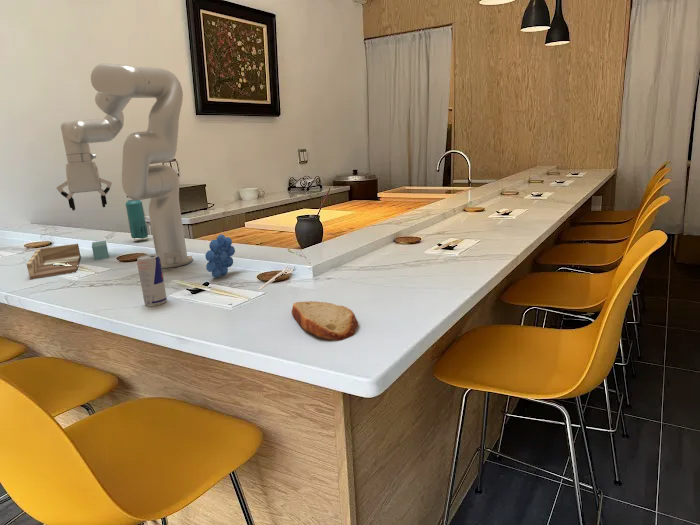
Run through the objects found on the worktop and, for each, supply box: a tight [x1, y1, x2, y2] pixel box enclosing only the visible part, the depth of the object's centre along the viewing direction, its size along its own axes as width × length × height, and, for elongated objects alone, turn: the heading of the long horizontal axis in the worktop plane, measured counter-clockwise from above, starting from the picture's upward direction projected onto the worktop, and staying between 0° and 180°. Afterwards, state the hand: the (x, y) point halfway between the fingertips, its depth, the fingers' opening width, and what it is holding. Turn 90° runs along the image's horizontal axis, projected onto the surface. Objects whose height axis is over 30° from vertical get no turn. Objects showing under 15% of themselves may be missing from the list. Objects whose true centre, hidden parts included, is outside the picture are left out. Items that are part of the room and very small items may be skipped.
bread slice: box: [291, 300, 359, 342], centre depth 110 cm, size 18×18×4 cm
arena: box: [26, 243, 82, 280], centre depth 174 cm, size 24×13×5 cm, turn 24°
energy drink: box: [136, 253, 168, 306], centre depth 129 cm, size 5×5×12 cm
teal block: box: [91, 240, 110, 261], centre depth 185 cm, size 9×4×5 cm, turn 25°
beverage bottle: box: [124, 195, 149, 239], centre depth 206 cm, size 6×7×20 cm
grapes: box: [205, 234, 236, 279], centre depth 149 cm, size 12×7×12 cm, turn 152°
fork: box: [257, 266, 294, 290], centre depth 144 cm, size 3×20×2 cm, turn 160°
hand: (89, 208), depth 182 cm, fingers open, 9 cm apart
